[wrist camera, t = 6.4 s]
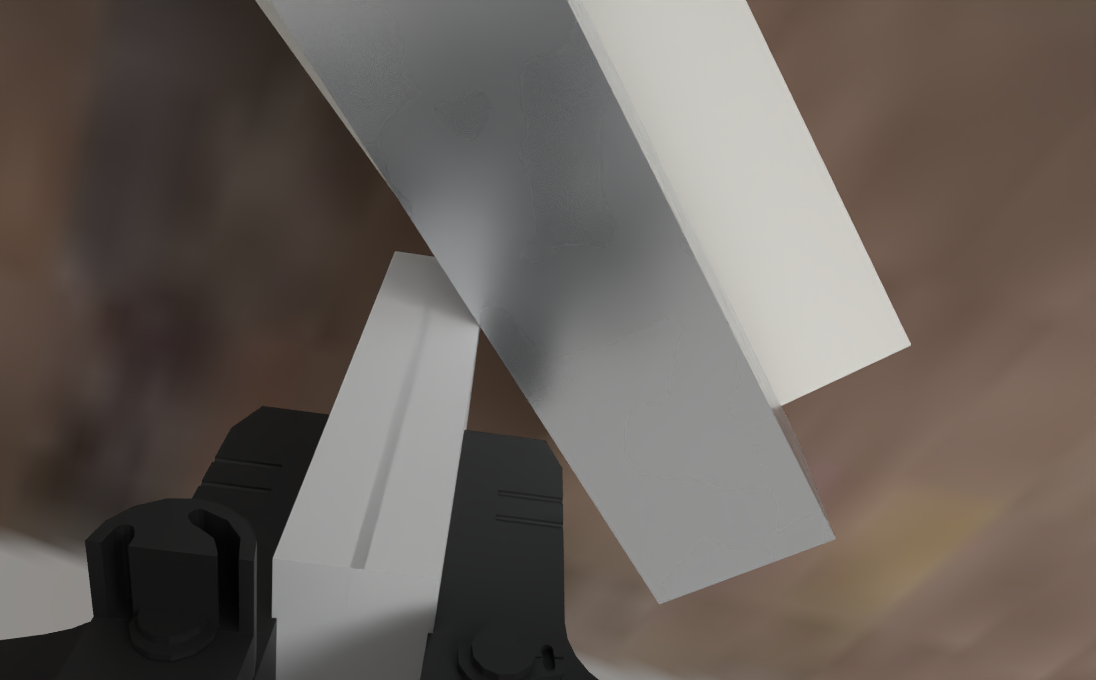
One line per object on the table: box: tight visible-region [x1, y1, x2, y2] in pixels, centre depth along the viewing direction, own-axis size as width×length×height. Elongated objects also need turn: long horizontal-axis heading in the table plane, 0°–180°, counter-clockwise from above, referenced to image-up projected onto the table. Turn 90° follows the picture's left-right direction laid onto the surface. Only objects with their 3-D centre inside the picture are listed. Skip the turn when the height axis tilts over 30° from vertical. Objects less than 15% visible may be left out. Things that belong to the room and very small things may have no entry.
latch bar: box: [270, 0, 836, 604], centre depth 11 cm, size 16×4×3 cm, turn 28°
